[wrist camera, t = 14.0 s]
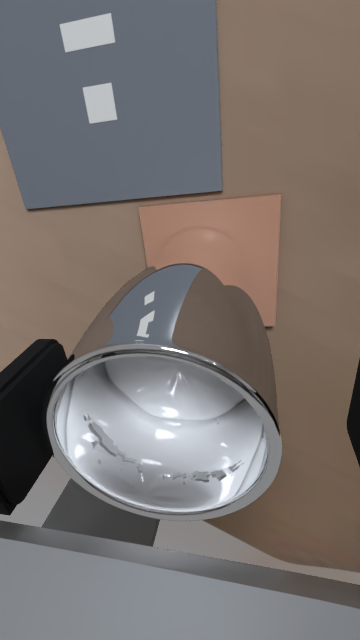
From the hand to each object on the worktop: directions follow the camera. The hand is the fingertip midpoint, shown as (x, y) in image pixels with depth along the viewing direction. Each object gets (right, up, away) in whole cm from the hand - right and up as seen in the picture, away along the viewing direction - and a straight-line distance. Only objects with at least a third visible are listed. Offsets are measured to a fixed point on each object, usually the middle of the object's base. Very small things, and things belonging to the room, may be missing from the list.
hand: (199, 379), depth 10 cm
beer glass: (+1, +5, +12) cm, 13 cm away
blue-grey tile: (-6, +16, +8) cm, 19 cm away
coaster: (+2, +6, +12) cm, 13 cm away
